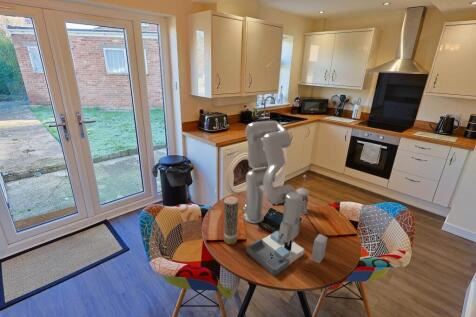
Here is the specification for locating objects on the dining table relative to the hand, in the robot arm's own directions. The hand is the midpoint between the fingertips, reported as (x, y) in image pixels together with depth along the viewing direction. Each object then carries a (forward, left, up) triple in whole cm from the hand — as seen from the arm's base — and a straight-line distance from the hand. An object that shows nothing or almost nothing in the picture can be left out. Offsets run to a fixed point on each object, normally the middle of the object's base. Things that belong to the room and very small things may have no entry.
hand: (287, 249), depth 119 cm
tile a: (0, -4, -1) cm, 4 cm away
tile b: (-9, +3, -1) cm, 10 cm away
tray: (-5, -9, -4) cm, 11 cm away
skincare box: (+10, +11, -4) cm, 16 cm away
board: (-5, +2, -4) cm, 6 cm away
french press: (-22, +38, -4) cm, 44 cm away
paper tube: (-26, -15, -4) cm, 30 cm away
